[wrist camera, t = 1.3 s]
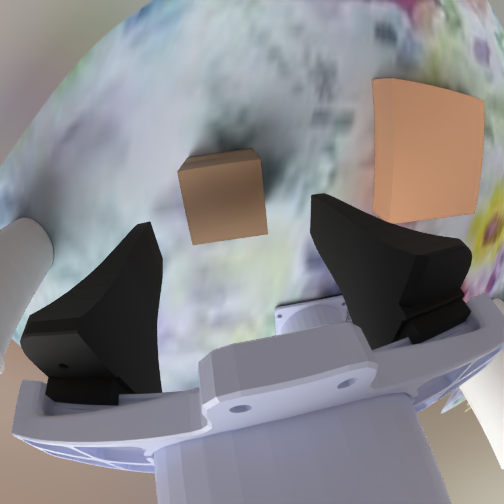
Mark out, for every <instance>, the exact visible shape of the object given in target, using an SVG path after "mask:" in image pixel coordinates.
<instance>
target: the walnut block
mask: <svg viewBox="0 0 504 504" xmlns="http://www.w3.org/2000/svg"><path fill="white" fill-rule="evenodd" d="M177 173H178V178H179V183H180V188H181V193H182V198H183V203H184V208H185V212H186V217H187V222H188V226H189V231H190V235H191V239H192V244H193V245H197V244H204V243H210V242H217V241H224V240H231V239H238V238H245V237H252V236H259V235H266V234H268V229H267V219H266V208H265V198H264V187H263V177H262V167H261V159H260V158H259V156H258V155H257V154H256V153H255V151H254V150H253V149H252V148H250V149H242V150H234V151H227V152H220V153H214V154H207V155H201V156H196V157H190V158H187V159H186V160H185V162H184V163H183V164H182V166H181V167H180V169H179V170H178V172H177Z"/></svg>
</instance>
